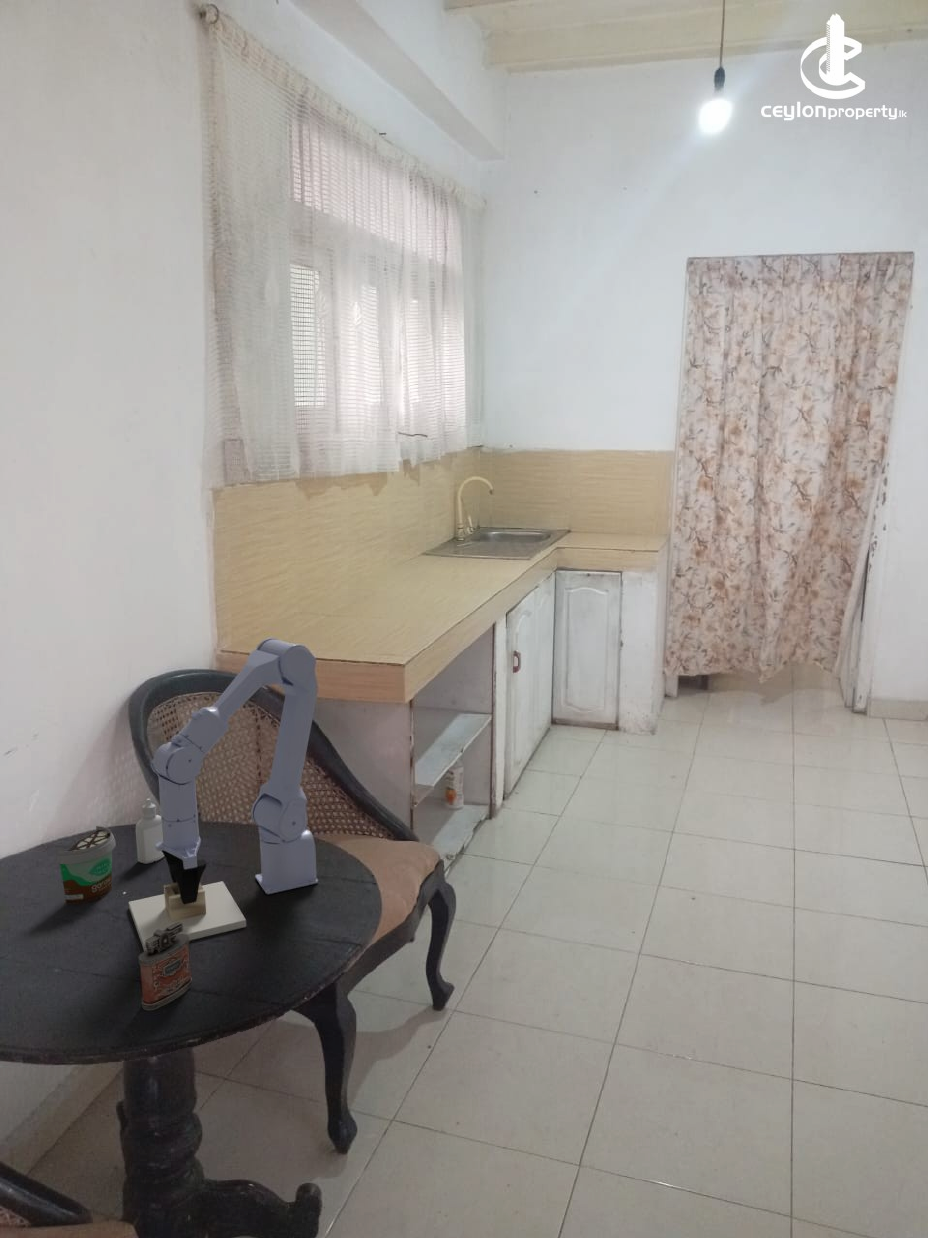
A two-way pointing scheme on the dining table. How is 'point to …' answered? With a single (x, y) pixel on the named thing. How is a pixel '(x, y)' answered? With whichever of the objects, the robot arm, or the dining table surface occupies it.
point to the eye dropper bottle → (149, 834)
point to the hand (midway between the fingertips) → (184, 892)
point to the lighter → (165, 967)
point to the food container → (88, 867)
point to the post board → (216, 920)
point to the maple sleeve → (176, 905)
